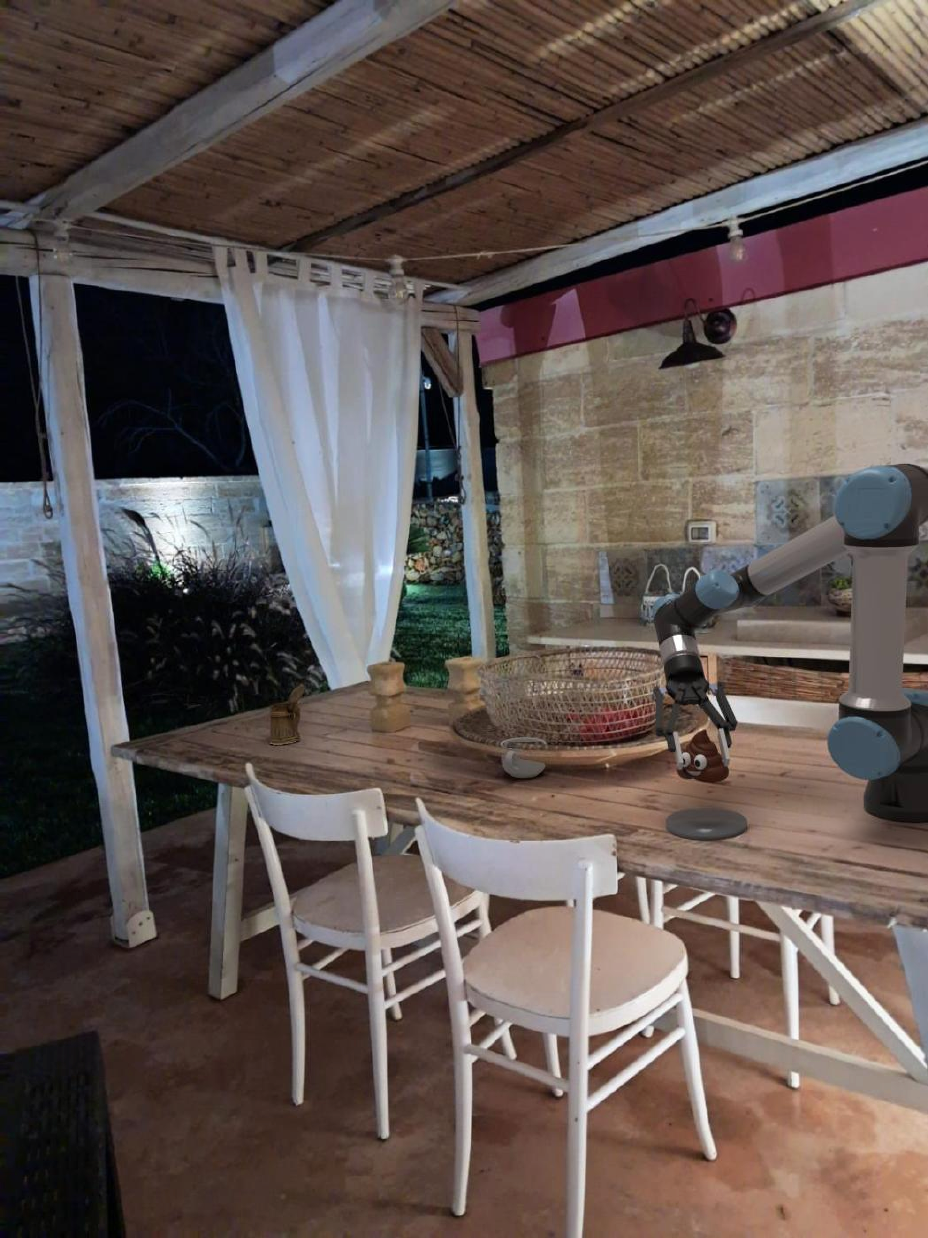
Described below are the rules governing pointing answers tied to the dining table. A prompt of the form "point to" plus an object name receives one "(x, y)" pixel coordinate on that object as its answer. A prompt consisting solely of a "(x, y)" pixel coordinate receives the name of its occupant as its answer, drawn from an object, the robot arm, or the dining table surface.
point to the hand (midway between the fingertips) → (704, 764)
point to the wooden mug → (286, 718)
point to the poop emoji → (702, 760)
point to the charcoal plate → (706, 823)
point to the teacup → (521, 760)
